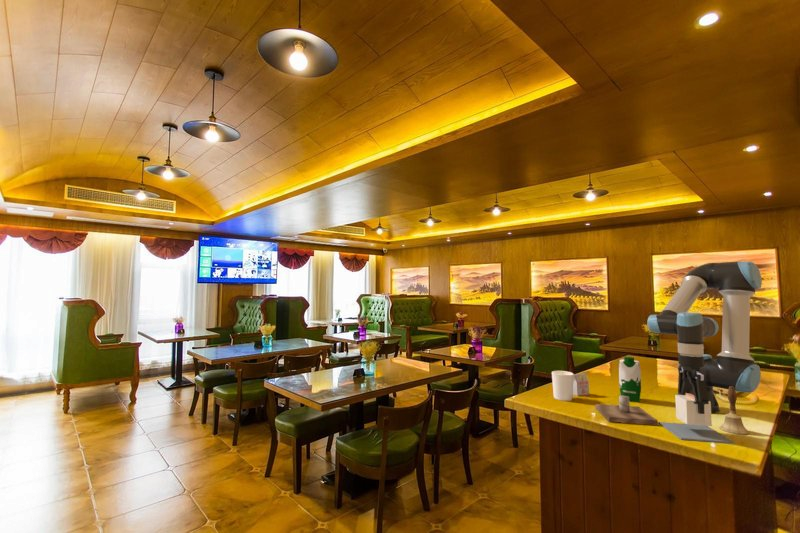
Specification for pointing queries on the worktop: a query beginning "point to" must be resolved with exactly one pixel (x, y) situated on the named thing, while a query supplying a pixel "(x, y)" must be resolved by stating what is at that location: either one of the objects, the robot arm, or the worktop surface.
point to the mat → (695, 432)
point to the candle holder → (562, 385)
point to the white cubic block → (690, 410)
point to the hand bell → (733, 416)
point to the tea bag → (580, 385)
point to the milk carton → (630, 378)
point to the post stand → (625, 413)
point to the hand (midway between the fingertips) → (693, 418)
